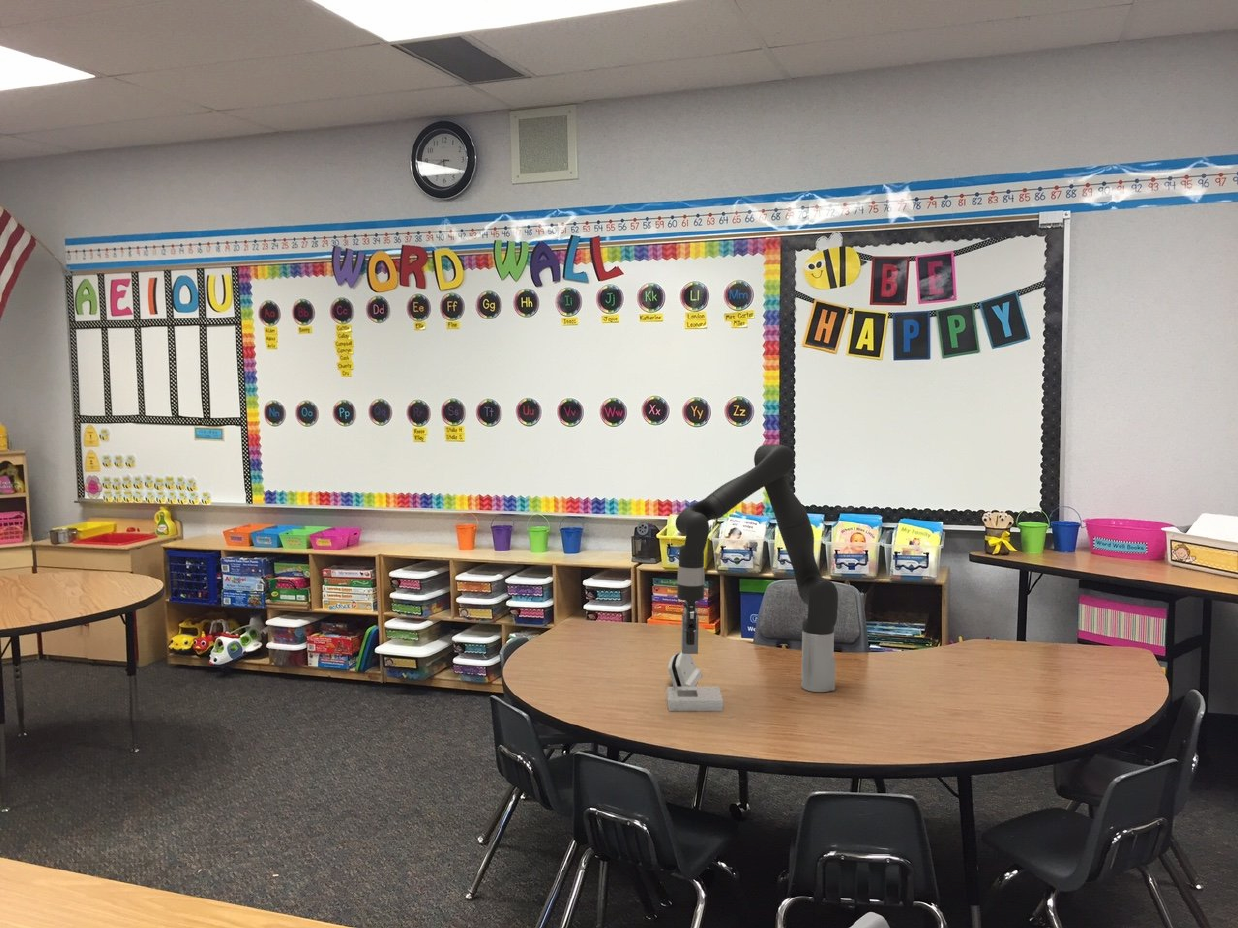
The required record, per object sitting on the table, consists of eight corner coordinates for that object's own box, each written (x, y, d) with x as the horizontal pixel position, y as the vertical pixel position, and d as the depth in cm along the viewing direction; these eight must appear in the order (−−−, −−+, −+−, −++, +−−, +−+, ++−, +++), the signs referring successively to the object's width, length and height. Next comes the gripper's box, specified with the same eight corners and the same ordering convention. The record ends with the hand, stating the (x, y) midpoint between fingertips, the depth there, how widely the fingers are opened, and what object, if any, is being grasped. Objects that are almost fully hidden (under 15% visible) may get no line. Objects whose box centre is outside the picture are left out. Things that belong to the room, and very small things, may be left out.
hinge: (691, 691, 277) (679, 659, 277) (676, 695, 279) (665, 663, 279) (702, 674, 293) (692, 644, 293) (688, 678, 295) (678, 648, 295)
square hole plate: (718, 696, 273) (718, 686, 273) (723, 710, 261) (723, 700, 261) (667, 696, 273) (667, 686, 273) (668, 710, 261) (668, 700, 261)
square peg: (696, 649, 268) (697, 614, 267) (697, 653, 263) (698, 618, 262) (681, 649, 268) (681, 614, 267) (682, 653, 263) (682, 618, 262)
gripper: (706, 587, 257) (705, 649, 258) (702, 577, 271) (700, 635, 272) (679, 587, 257) (677, 648, 258) (676, 576, 271) (674, 635, 272)
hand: (689, 641), depth 265 cm, fingers closed on square peg, 4 cm apart
